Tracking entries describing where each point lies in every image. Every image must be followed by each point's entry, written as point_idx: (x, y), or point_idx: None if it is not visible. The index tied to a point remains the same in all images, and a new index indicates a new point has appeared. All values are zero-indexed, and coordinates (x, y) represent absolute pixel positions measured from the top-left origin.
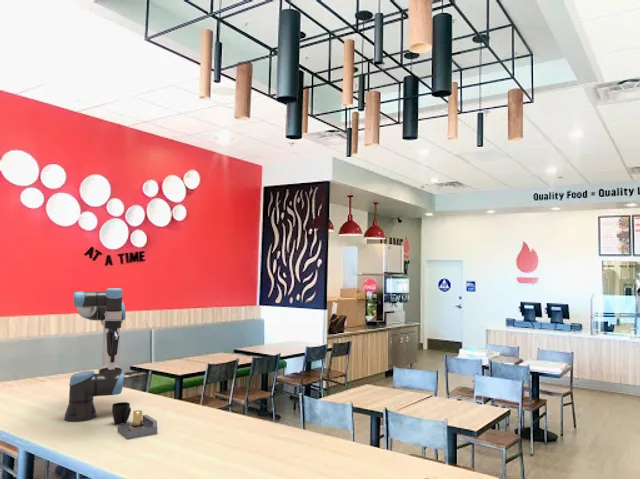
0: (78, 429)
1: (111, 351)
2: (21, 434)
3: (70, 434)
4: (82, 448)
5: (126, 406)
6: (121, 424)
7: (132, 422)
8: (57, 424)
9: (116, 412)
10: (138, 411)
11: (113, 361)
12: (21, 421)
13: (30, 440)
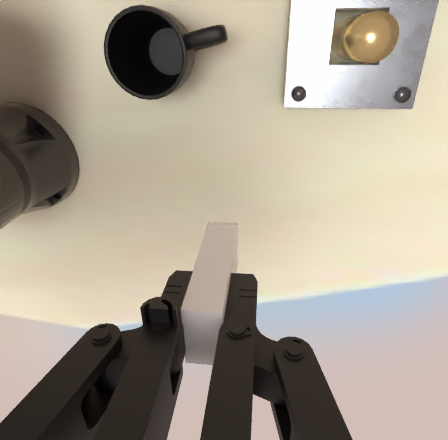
0: (172, 199)
1: (287, 433)
2: None
3: None
4: (377, 242)
5: (183, 37)
6: (304, 98)
7: (296, 41)
8: (85, 231)
9: (181, 85)
10: (377, 34)
11: (256, 289)
12: (15, 289)
13: None
